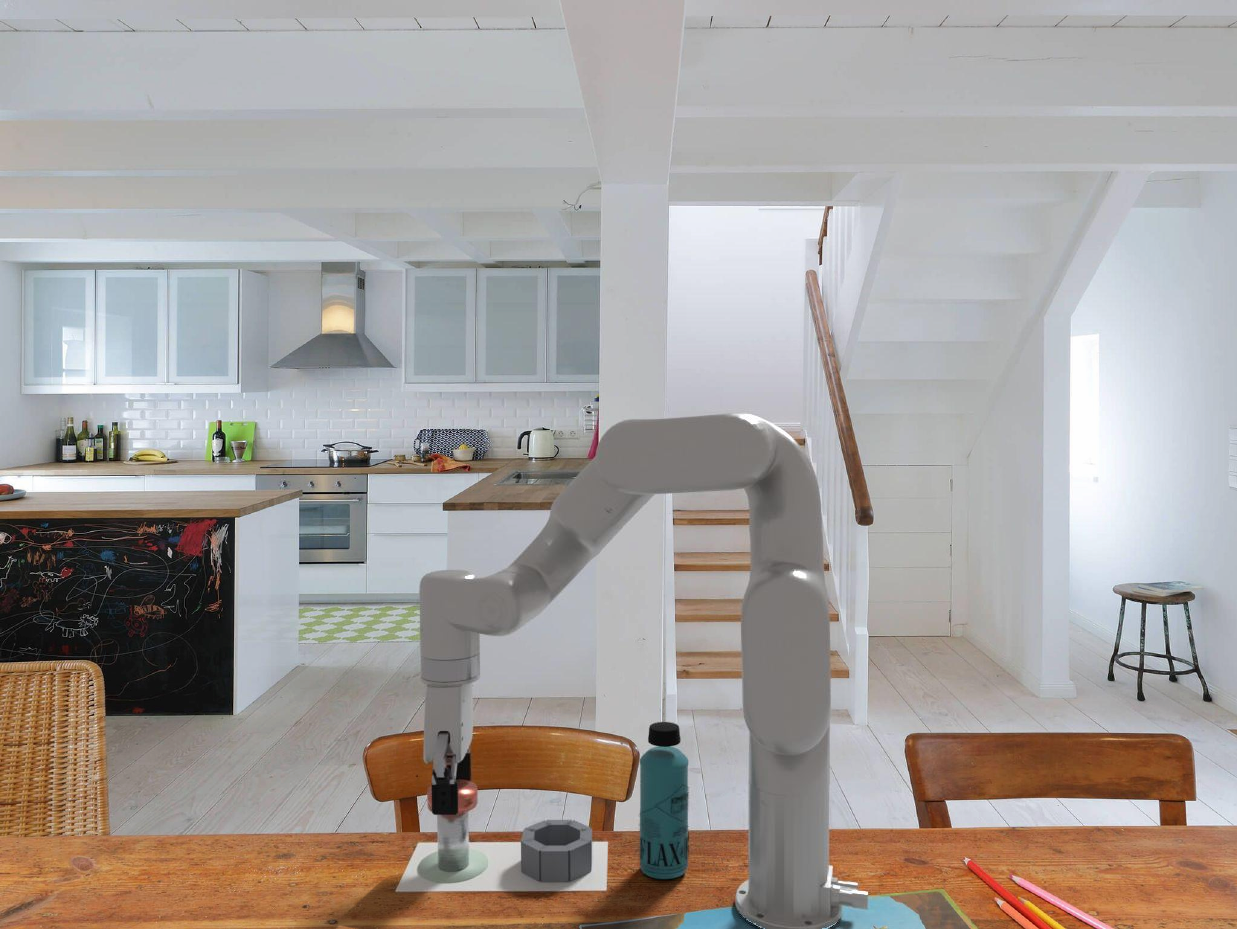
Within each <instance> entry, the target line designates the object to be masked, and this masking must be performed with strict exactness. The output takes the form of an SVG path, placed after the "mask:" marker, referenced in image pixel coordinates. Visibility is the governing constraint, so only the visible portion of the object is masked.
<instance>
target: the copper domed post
mask: <svg viewBox="0 0 1237 929" xmlns="http://www.w3.org/2000/svg"><path fill="white" fill-rule="evenodd" d="M455 782H458V813H457V814H456V815H436V822H437V823H436V827H437V828H436V830H437V831H436V832H437V833H436V834H437V837H436V838H437V843H438V868H439V869H440V870H442V871H444V872H457V871H461V870H463V869H465V868H467V867H468V866H469V842H470V837H469V836H470V835H469V832H470V828H469V827H470V826H469V825H470V824H469V812H471V810H473V809H475V808H476V807H477V806H478V803H479V801H478V798H479V797H478V796H479V795H478V793H479V792H478V784H476V783H475V782H473V781H472V780H471V781H468V780H461V779H456V780H455ZM426 795H427V797H426V803H427V804H426V805H427V809H428V811H429V812H431V813H432V784H431V785H430V786H429V787H428V788H427V790H426Z"/></svg>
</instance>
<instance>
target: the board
mask: <svg viewBox="0 0 1237 929" xmlns="http://www.w3.org/2000/svg"><path fill="white" fill-rule="evenodd" d="M608 846H609V841H593V828H592V827H590V826H588V825H585V824H583V823H582V822H579V821H577V820H575V819H545V820H541V821H539V822H537V823H534V824H532V825H530V826H528V827H524V828H523V830H522V836H521V840H520V841H512V842H511V841H508V842H507V841H501V842H499V841H495V842H494V841H492V842H491V841H489V842H488V841H485V842H483V841H475V842H472V841H471V842H470V841H469V866H468V867H467V868H465V869H463V870H461V871H457V872H444V871H442V870H440V869H439V868H438V842H417V845H416V846H415V849H414V851H413V853H412V856H411V857H410V859H409V862H408V863H407V865H406V867H405V870H404V871H403V874H402V876H401V878H400V880H399V883H398V884H397V887H396V889H395V893H397V892H398V893H403V892H404V893H411V892H412V893H414V892H415V893H419V892H421V893H422V892H425V893H427V892H428V893H429V892H432V893H433V892H434V893H435V892H442V893H443V892H444V893H446V892H447V893H448V892H454V893H455V892H601V891H602V892H607V890H608V889H607V888H608V887H607V886H608V883H607V881H608V859H609V858H608V856H609V855H608V850H609V847H608Z"/></svg>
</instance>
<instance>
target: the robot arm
mask: <svg viewBox="0 0 1237 929" xmlns="http://www.w3.org/2000/svg"><path fill="white" fill-rule="evenodd" d="M742 489H744V491H745V493H746V496H747V500H748V510H749V511H748V512H749V515H748V516H749V520H748V522H749V523H748V525H749V526H748V528H749V529H748V530H749V539H750V540H749V542H750V544H749V545H750V548H749V549H750V551H749V552H750V569H749V570H750V572H749V581H748V583H747V587H746V590H745V591H744V594H743V598H742V602H741V608H740V609H741V611H740V642H741V644H740V649H741V654H740V656H741V690H742V691H741V692H742V693H741V695H742V696H741V697H742V698H741V699H742V701H741V702H742V713H743V718H744V722H745V725H746V727H747V729H748V840H747V842H748V844H747V845H748V855H747V856H748V857H747V858H748V860H747V861H748V870H747V871H748V878H747V880H745V881H744V882H743V883H741V884H740V885H739V886H738V888H737V889H736V892H735V902H734V903H735V907H736V911H737V910H738V911H739V912H738V911H737V912H738V914H739V915H740V914H741V915H742V916H744V917H745V918H746V919H748V920H749V921H751V922H752V923H756V925H758V926H761V927H762V928H765V929H822V928H827V927H829V926H831V925H833V924H835V923H836V922H838V923H839V921H840V920H841V918H842V916H841V915H842V914H843V907H851V908H853V909H859V910H868V908H869V907H868V906H869V905H868V904H869V896H868V895H869V892H868V891H864V890H859V883H858V882H856V881H849V880H847V881H845V880H844V881H843V880H839V879H838V877H833V875H834V874H833V873H834V871H833V870H834V869H833V868H834V865H830V784H831V782H830V781H831V771H830V770H831V716H832V705H831V704H832V703H831V702H832V693H831V692H832V689H831V688H832V684H831V683H832V681H831V680H832V679H831V678H832V677H831V676H832V675H831V674H832V673H831V666H832V665H831V620H830V601H829V593H828V588H827V585H826V584H827V583H826V579H825V577H826V576H825V565H824V564H825V562H824V560H825V559H824V557H825V556H824V536H823V535H824V534H823V517H822V516H823V515H822V514H823V513H822V502H821V501H822V500H821V494H820V493H821V492H820V486H819V483H818V478H817V474H816V471H815V469H814V467H813V465H812V463H811V460H810V459H809V456H808V455H807V454H806V452H805V450H804V449H803V448H802V446H801V445H800V444H799V443H798V442H797V440H795V438H793V437H792V435H790V434H789V433H787V432H786V431H784V430H783V429H782V428H781V427H779V426H777V425H775V424H774V423H772V422H770V421H768V420H766V419H763V418H762V417H759V416H757V415H754V414H750V413H745V412H731V413H719V414H710V415H696V416H682V417H671V418H670V417H667V418H631V419H630V418H629V419H625V420H622V421H619V422H617V423H615V424H614V425H612V426H610V427H609V428H608V429H607V430H606V431H605V432H604V434H603V435H602V436H601V438H600V440H599V442H598V443H597V447H596V451H595V456H594V457H593V458H592V459H591V461H589V463H588V464H587V465H585V467H584V468H583V469H582V470H581V471H580V472H579V473H578V474H577V475H576V476H575V477H574V479H573V480H572V481H571V482H570V483H568V485H567V486H566V487H565V488H564V489H563V490H562V491H561V492H560V493H559V494H558V495H557V497H556V498H555V499H554V501H553V503H552V504H551V506H550V512H549V516H548V520H547V522H546V523H545V525H544V527H543V528H542V530H541V531H540V532H539V533H538V534H537V535H536V537H535V538H534V539H533V540H532V541H531V542H530V544H529V545H528V546H527V547H526V548H525V549H524V550H523V551H522V552H521V554H519V556H518V557H516V559H515V560H514V561H513V562H511V563H510V564H509V566H507V567H506V568H504V569H501V570H500V571H497V572H496V573H494V574H491V575H487V576H484V577H477V576H476V574H474V573H473V572H471V571H468V570H465V569H464V570H463V569H444V570H443V569H442V570H434V571H430V572H429V573H425V575H423V576H422V578H421V580H420V582H419V590H418V591H419V641H420V642H419V644H420V647H419V649H420V681H421V682H422V683H423V684H425V685H426V690H425V698H424V699H425V700H424V701H425V702H424V717H423V718H424V720H423V721H424V722H423V761H424V763H425V764H430V763H431V762H433V767H432V774H431V775H432V776H431V785H432V812H431V813H432V815H434V816H437V815H456V814H457V813H458V782H455V780H456V779H461V780H468V781H471V782H472V753H471V743H472V740H473V734H474V733H473V732H474V731H473V730H474V696H473V694H474V693H473V690H474V689H473V686H474V685H473V683H475V682H476V681H478V680H480V678H481V652H480V651H481V650H480V648H481V645H480V636H481V635H484V636H488V637H489V636H490V637H505V636H508V635H511V634H514V633H515V632H517V631H518V630H520V629H521V628H522V627H524V626H525V625H526V624H527V623H529V622H530V621H531V620H533V619H535V618H537V617H538V616H539V615H541V613H542V612H543V611H544V610H546V608H548V606H550V604H551V603H552V602H553V601H554V600H555V599H556V598H557V596H559V595H560V594H561V593H562V592H563V591H564V590H565V589H566V587H568V586H569V584H571V582H572V581H573V580H574V579H575V578H576V577H577V576H578V574H580V573H581V571H582V570H583V569H584V568H585V567H586V566H587V565H588V564H589V563H590V562H591V560H594V558H596V557H597V556H598V555H599V554H600V553H601V552H602V551H603V549H604V548H605V547H607V545H608V544H609V543H610V542H611V541H612V539H614V538H615V536H617V534H618V533H620V531H621V530H622V529H623V528H624V526H626V525H627V523H629V522H630V520H631V519H632V518H634V516H635V515H636V514H637V513H638V512H639V511H640V510H641V509H642V508H643V507H644V505H646V504H647V503H648V502H649V501H650V500H651V499H652V498H653V497H654V496H655V495H666V494H683V493H686V494H687V493H701V492H703V493H704V492H706V493H707V492H724V491H726V492H727V491H735V490H742ZM741 915H740V916H741ZM742 916H741V917H742ZM840 917H841V918H840ZM839 919H840V920H839ZM838 920H839V921H838Z"/></svg>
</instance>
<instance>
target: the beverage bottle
mask: <svg viewBox="0 0 1237 929" xmlns="http://www.w3.org/2000/svg"><path fill="white" fill-rule="evenodd" d="M680 731H681V730H680V726H679V725H678V724H676V723H674V722H669V721H659V722H658V721H657V722H653V723H651V724H650V725H649V728H648V735H647V736H648V737H647V741H648V743H649V744H650V745H652V746H654V747H651V748H650V749H648V750H647V751H645V752H644V753H643V754H642V756H640V758H639V765H640V766H639V767H640V768H639V769H640V770H639V771H640V774H639V775H640V776H639V777H640V778H639V779H640V780H639V782H640V783H639V786H640V789H639V795H640V796H639V797H640V798H639V800H640V802H639V803H640V805H639V806H640V808H639V819H638V822H639V823H638V826H639V834H638V837H639V843H638V850H639V853H638V856H639V860H638V864H639V865H638V866H640V870H641V871H642V873H643V874H645V875H646V876H648V877H650V878H654V879H659V880H669V879H671V880H672V879H675V878H678V877H681V876H682V875H684V874H685V873H686V872H687V870H688V866H689V865H690V864H689V862H690V844H689V843H690V831H689V830H690V829H689V808H690V805H689V799H690V792H689V789H690V787H689V786H688V785H689V781H688V780H689V779H688V777H689V759H688V757H687V756H686V755H685V754H684V753H683V752H682V750H680V749H679V748H677V747H675V746H677V745H679V744H680V743H681V740H682V739H681V734H680Z"/></svg>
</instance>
